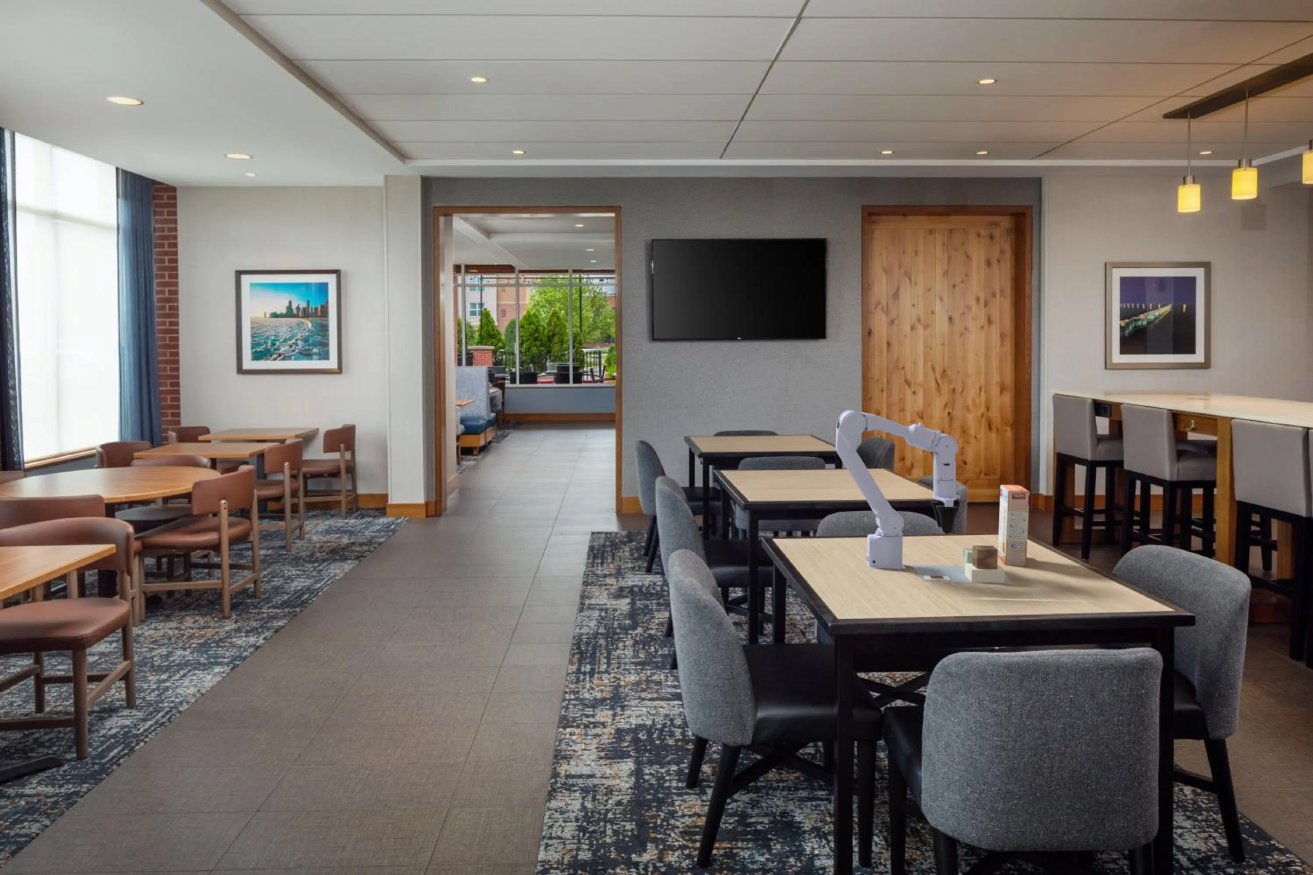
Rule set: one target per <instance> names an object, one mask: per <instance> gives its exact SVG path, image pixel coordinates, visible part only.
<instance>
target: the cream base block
mask: <svg viewBox="0 0 1313 875" xmlns="http://www.w3.org/2000/svg"><path fill="white" fill-rule="evenodd" d="M965 575H966V576H967V577H968V578H969V579H970V580H971V581H972V582H1005V576H1006V570H1005V569H1003V568H1002V567H1001V566H1000V565H999V563H997V569H977V568H975V567H974V566H973V565H972V563H965Z"/></svg>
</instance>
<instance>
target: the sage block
mask: <svg viewBox="0 0 1313 875" xmlns="http://www.w3.org/2000/svg"><path fill="white" fill-rule="evenodd" d="M962 550H963V553H962V554H963V556H962V557H963V558H962V566H963V568H964V569H965V563H972V553H973V548H963V549H962Z"/></svg>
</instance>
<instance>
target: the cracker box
mask: <svg viewBox="0 0 1313 875" xmlns="http://www.w3.org/2000/svg"><path fill="white" fill-rule="evenodd" d="M999 487H1000V490H999V492H1000V493H999V517H998V518H999V519H998V539H997V540H998V542H997V544H998V545H997V549H998V559H999V560H1000V561H1001V562H1002V563H1003V565H1004V566H1012V567H1016V566H1017V567H1027V559H1028V558H1027V556H1028V555H1027V554H1028V534H1029V512H1030V509H1029V508H1030V491H1029V490H1027V489H1026V488H1025V487H1023V486H1021V485H1019V484H1001V485H1000V486H999Z"/></svg>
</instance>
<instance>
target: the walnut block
mask: <svg viewBox="0 0 1313 875" xmlns="http://www.w3.org/2000/svg"><path fill="white" fill-rule="evenodd" d="M972 549H973V553H972V565H973V566H974V567H975V568H977V569H997V564H999V563H998V559H999V557H998V548H997V547H996V546H994V545H972Z"/></svg>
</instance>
